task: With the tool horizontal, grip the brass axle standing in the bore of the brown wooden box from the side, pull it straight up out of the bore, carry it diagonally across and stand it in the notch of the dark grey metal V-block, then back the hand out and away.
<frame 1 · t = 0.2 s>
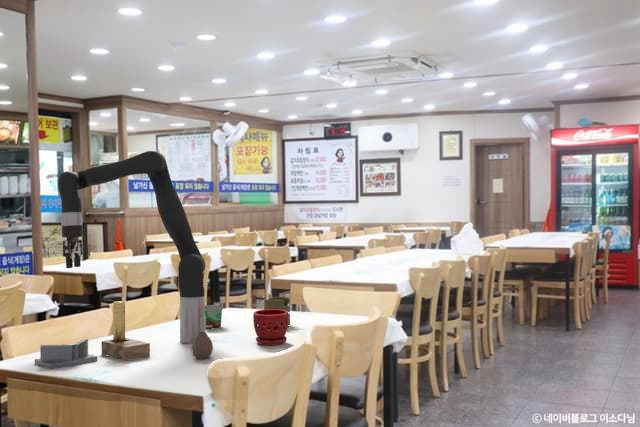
hand: (73, 267, 254), 29 cm above the table, tool pointing down, fingers open, 8 cm apart
axle: (119, 353, 234), resting in brown wooden box
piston: (277, 326, 291), on the table
food container: (216, 328, 288), on the table
brown wooden box: (125, 355, 232), on the table
plant pot: (271, 343, 252), on the table
vase: (202, 358, 226), on the table
v block: (73, 364, 217), on the table
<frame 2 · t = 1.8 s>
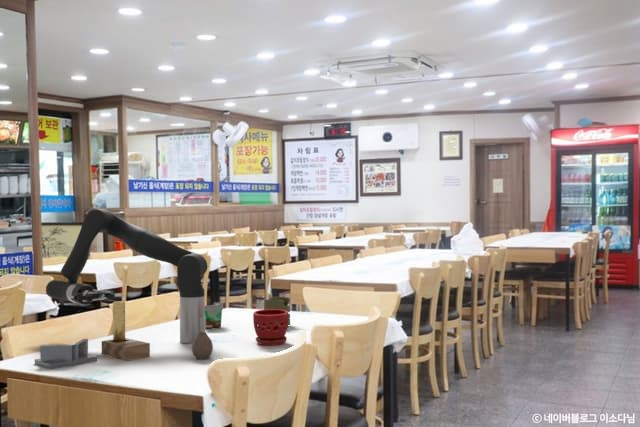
hand: (102, 297, 242), 19 cm above the table, tool horizontal, fingers open, 8 cm apart
nothing on the table moved.
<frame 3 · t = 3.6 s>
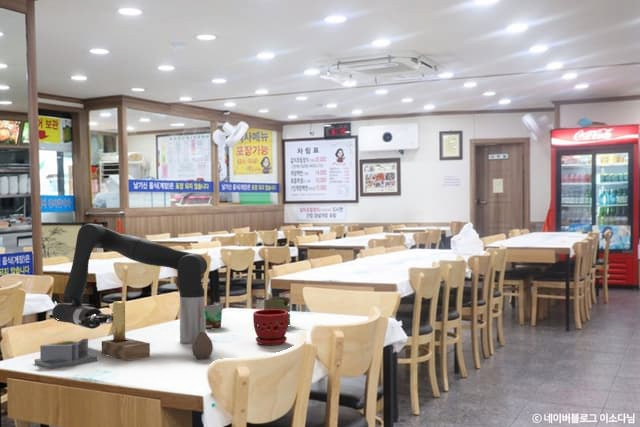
hand: (110, 321, 239), 10 cm above the table, tool horizontal, fingers open, 8 cm apart
nothing on the table moved.
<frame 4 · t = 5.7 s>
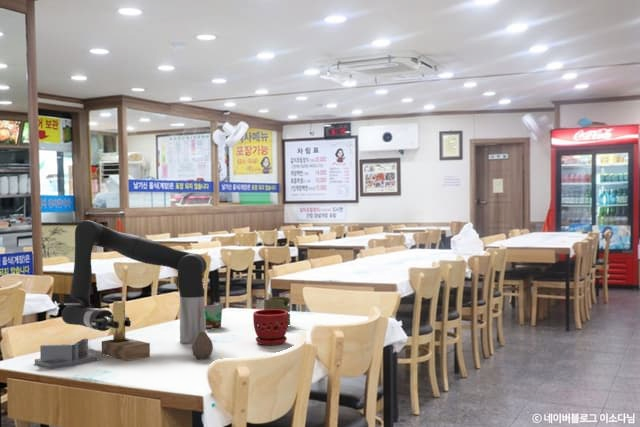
hand: (123, 324, 233), 11 cm above the table, tool horizontal, fingers closed on axle, 4 cm apart
axle: (119, 353, 234), resting in brown wooden box, touching gripper
everything else where it was.
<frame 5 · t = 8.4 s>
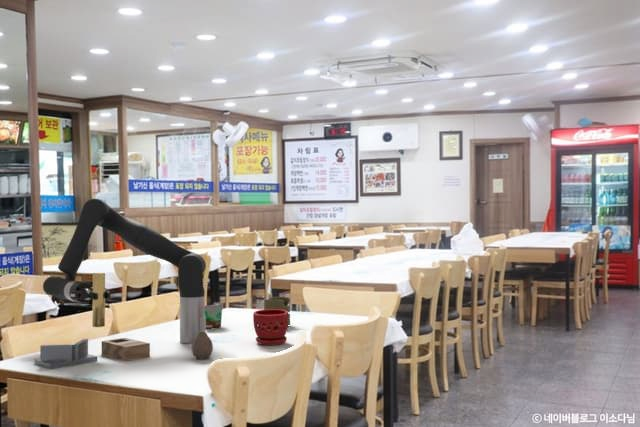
hand: (102, 295, 228), 21 cm above the table, tool horizontal, fingers closed on axle, 4 cm apart
axle: (98, 326, 230), point 10 cm above the table, touching gripper
everything else where it was.
when the fingers open (13 cm above the table, at t = 10.9 s): axle stays where it is, resting on v block.
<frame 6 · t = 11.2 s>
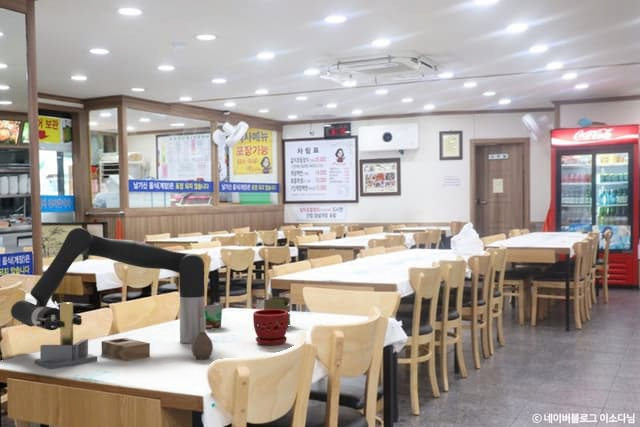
hand: (70, 323, 219), 13 cm above the table, tool horizontal, fingers open, 6 cm apart
axle: (67, 357, 221), point 2 cm above the table, touching v block
everything else where it was.
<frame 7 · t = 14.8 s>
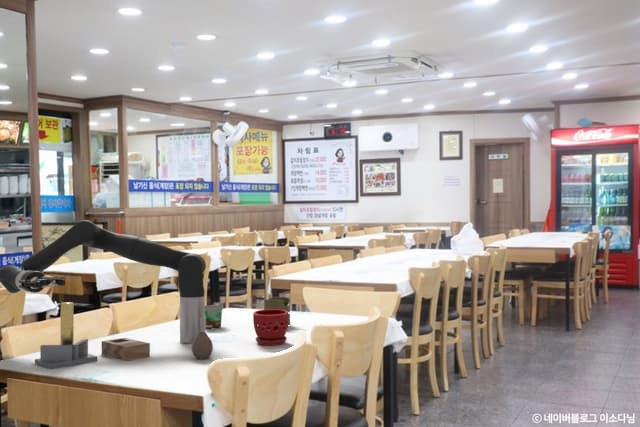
hand: (51, 283, 228), 25 cm above the table, tool horizontal, fingers open, 8 cm apart
nothing on the table moved.
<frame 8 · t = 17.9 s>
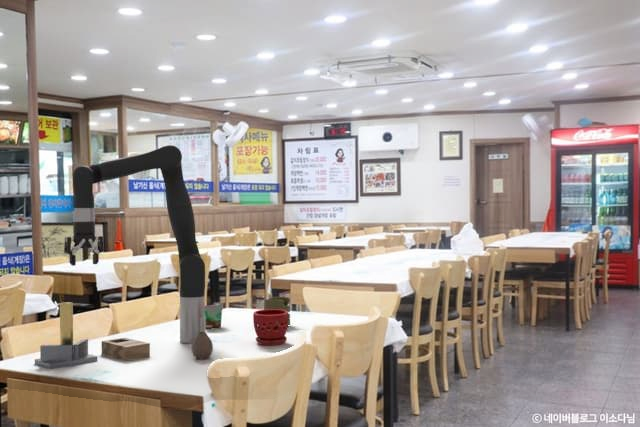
hand: (84, 264, 247), 30 cm above the table, tool pointing down, fingers open, 8 cm apart
nothing on the table moved.
at the end: axle 0.1 cm from the target spot on the v block, point 1.5 cm above the v block's base; axle tilted 1°; the gripper is holding nothing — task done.
